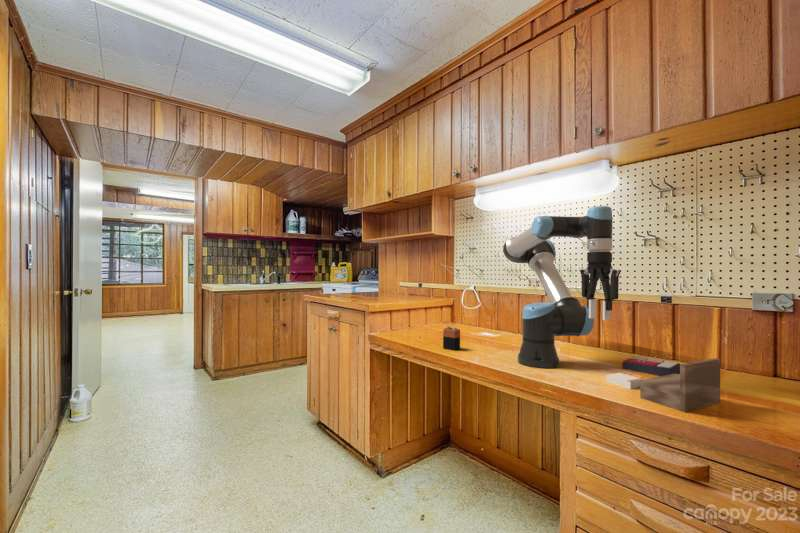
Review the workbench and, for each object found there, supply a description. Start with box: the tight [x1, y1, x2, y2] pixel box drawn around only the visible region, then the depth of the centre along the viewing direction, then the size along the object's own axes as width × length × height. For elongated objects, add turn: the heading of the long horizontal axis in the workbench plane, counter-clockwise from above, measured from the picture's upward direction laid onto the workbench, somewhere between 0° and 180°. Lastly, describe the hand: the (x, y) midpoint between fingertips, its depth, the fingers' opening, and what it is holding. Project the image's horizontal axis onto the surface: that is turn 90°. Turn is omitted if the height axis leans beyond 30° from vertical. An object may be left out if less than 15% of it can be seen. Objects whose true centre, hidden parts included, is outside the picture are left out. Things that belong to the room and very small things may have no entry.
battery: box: [442, 325, 461, 351], centre depth 162 cm, size 4×7×10 cm, turn 48°
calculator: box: [622, 356, 681, 377], centre depth 130 cm, size 11×4×15 cm
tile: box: [605, 372, 645, 390], centre depth 114 cm, size 8×7×3 cm
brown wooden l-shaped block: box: [639, 357, 721, 413], centre depth 100 cm, size 11×17×12 cm, turn 115°
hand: (599, 318), depth 123 cm, fingers open, 4 cm apart
